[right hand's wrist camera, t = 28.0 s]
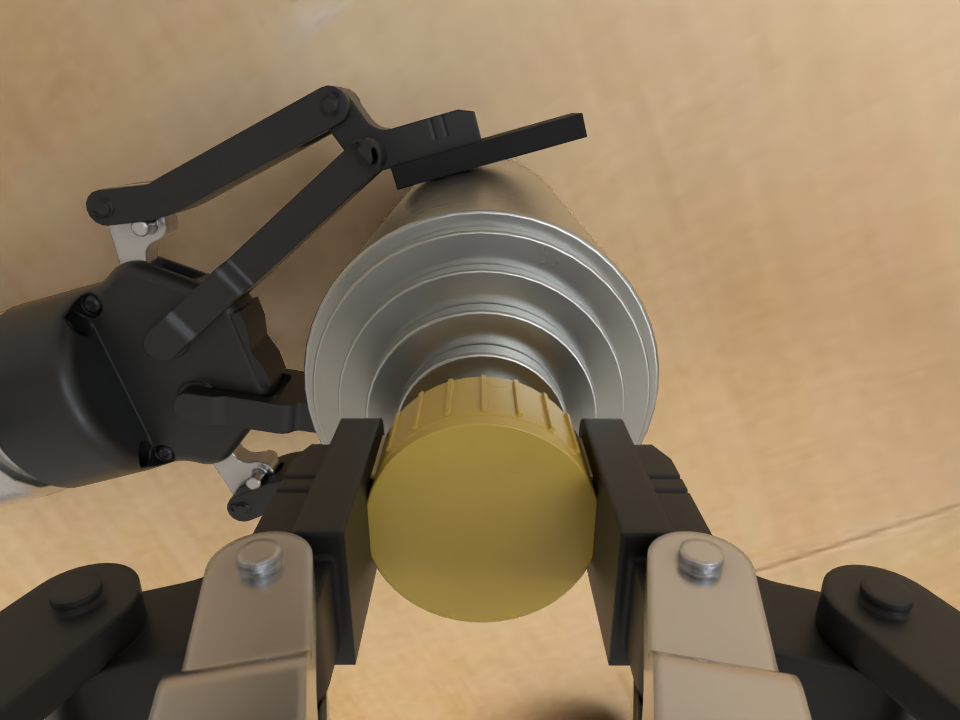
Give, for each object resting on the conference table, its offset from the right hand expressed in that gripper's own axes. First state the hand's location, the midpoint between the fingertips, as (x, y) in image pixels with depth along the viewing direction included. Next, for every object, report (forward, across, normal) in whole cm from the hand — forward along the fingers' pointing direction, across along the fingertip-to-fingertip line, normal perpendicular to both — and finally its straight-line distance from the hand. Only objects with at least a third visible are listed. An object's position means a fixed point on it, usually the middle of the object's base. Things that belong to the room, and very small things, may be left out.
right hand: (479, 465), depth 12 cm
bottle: (+20, 0, 0) cm, 20 cm away
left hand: (+13, -5, -1) cm, 14 cm away
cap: (-2, 0, 0) cm, 2 cm away
